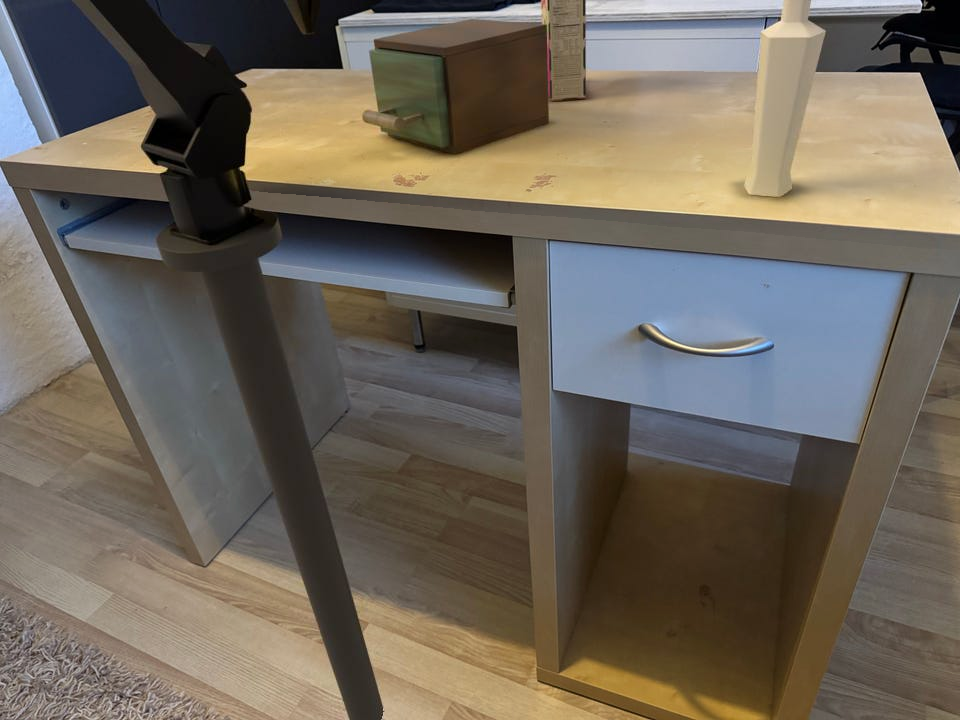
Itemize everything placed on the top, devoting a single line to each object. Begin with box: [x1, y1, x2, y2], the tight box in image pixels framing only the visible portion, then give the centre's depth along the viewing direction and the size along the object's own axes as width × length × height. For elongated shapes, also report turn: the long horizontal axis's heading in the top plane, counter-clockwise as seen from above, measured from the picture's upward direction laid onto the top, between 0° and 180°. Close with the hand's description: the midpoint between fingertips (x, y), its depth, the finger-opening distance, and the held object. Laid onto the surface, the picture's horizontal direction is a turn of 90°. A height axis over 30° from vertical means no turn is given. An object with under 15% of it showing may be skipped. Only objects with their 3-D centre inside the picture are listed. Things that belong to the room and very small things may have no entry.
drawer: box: [361, 48, 451, 148], centre depth 77 cm, size 17×11×9 cm, turn 132°
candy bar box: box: [540, 0, 587, 102], centre depth 89 cm, size 11×5×16 cm, turn 0°
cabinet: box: [373, 18, 550, 155], centre depth 78 cm, size 15×13×11 cm
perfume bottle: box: [743, 0, 826, 198], centre depth 55 cm, size 5×4×15 cm
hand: (308, 33), depth 66 cm, fingers closed
